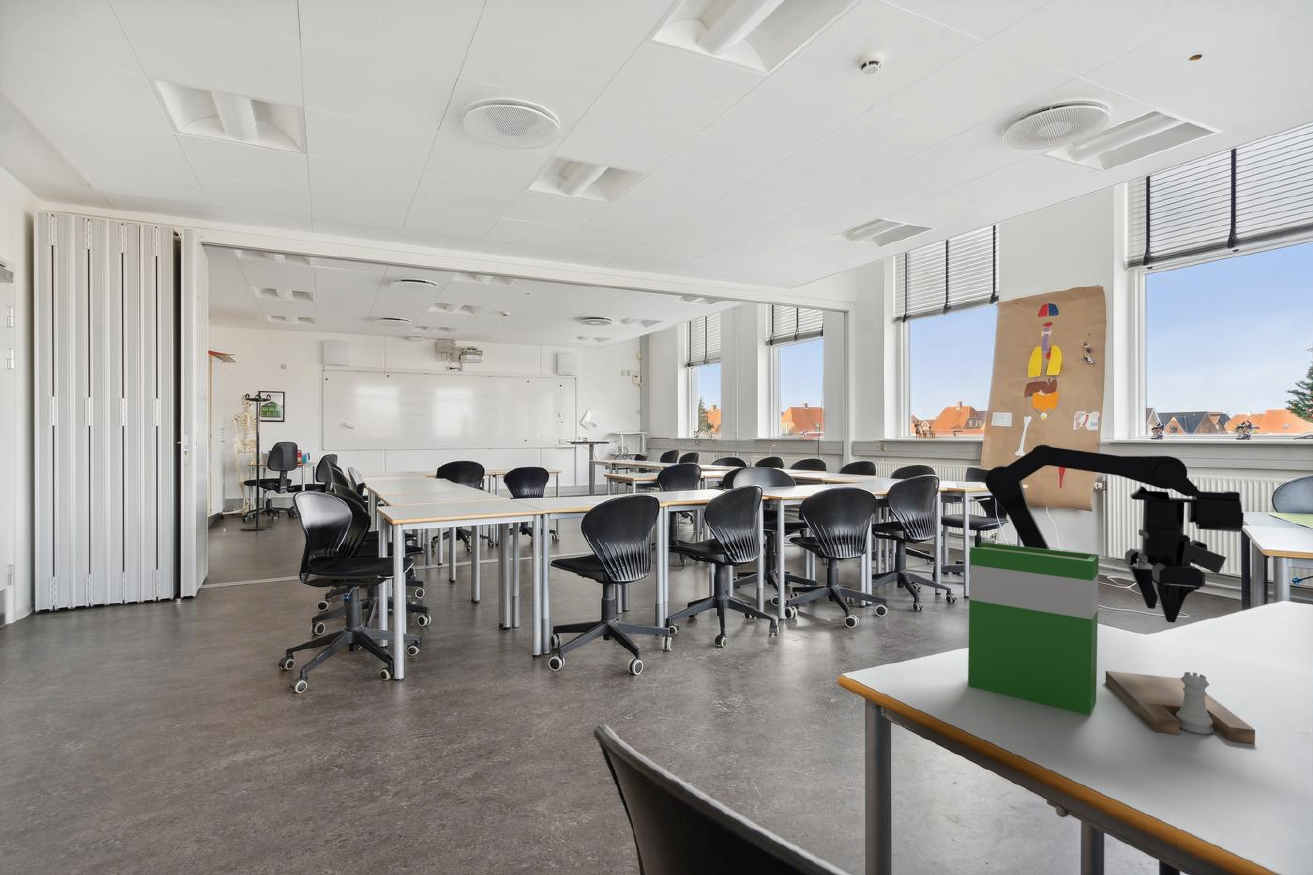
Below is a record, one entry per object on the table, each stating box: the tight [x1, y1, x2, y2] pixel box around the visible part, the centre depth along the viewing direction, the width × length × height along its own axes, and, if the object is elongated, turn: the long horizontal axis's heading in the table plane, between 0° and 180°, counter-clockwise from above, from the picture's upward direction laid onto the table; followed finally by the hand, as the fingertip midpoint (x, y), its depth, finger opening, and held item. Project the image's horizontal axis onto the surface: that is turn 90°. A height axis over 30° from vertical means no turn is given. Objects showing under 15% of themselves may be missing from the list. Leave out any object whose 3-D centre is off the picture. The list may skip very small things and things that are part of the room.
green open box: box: [967, 541, 1100, 717], centre depth 109 cm, size 18×7×24 cm, turn 50°
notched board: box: [1104, 670, 1256, 745], centre depth 104 cm, size 12×20×2 cm, turn 163°
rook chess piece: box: [1176, 671, 1214, 736], centre depth 97 cm, size 4×4×8 cm
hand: (1160, 615), depth 115 cm, fingers open, 9 cm apart
